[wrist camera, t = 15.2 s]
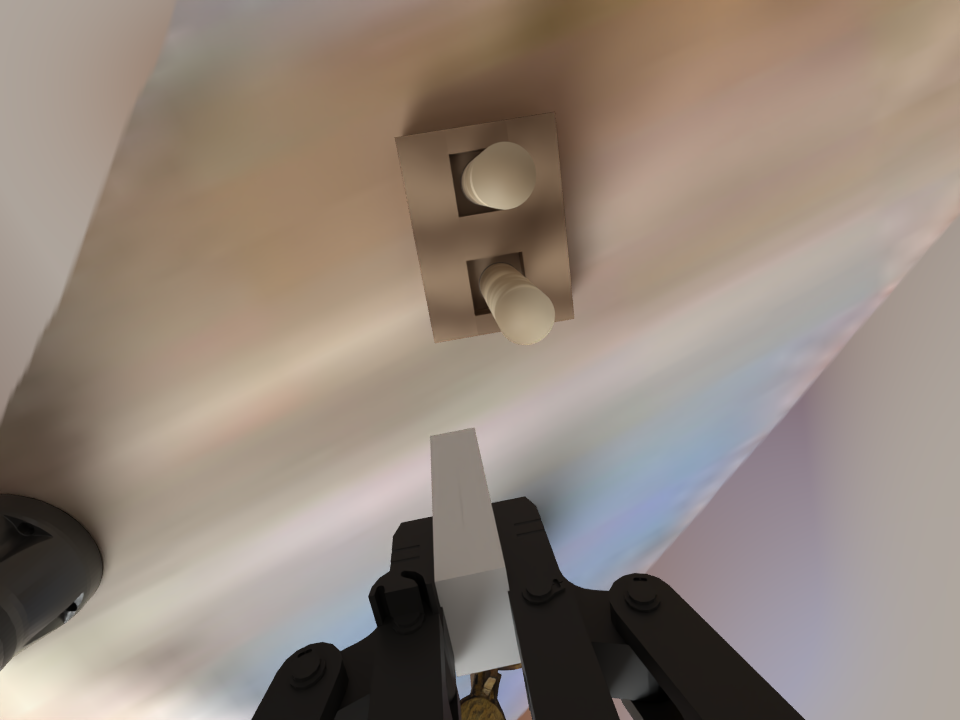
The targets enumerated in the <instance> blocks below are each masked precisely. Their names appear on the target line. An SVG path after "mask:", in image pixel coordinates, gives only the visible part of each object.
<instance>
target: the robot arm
mask: <svg viewBox="0 0 960 720" xmlns="http://www.w3.org/2000/svg"><path fill="white" fill-rule="evenodd" d="M430 444H431V478H432V512H433V516H432V517H427V518H423V519H418V520H413V521H408V522H403V523H401V524H400V526H399V528H398V529H397V531H396V533H395V534H394V536H393V543H392V554H391V565H390V571H389V572H388V573H386V574H385V575H383V576H382V577H380V578H379V579H378V580H377V581H376V583H375V584H374V585H373V586H372V588H371V591H370V593H369V596H368V597H369V601H370V604H371V607H372V611H373V614H374V617H375V621H376V624H377V628H376V629H375V630H374V631H373V632H372V633H371V634H370V635H369V636H367V637H366V638H364V639H363V640H361V641H359V642H358V643H356V644H354V645H352V646H350V647H348V648H346V649H344V650H342V651H340V650H339V649H337V648H336V647H335V646H334V645H333V644H329V643H324V642H320V643H314V644H310V645H308V646H306V647H303V648H301V649H299V650H297V651H296V652H295V653H294V654H293V655H291V656H290V657H289V658H288V659H287V660H286V661H285V662H284V663H283V665H282V666H281V667H280V669H279V670H278V671H277V673H276V675H275V677H274V679H273V681H272V683H271V684H270V686H269V688H268V690H267V692H266V694H265V695H264V697H263V699H262V701H261V703H260V705H259V706H258V708H257V710H256V712H255V714H254V716H253V718H252V719H251V720H462V718H461V705H460V698H459V694H458V690H457V686H456V674H457V677H459V676H463V675H468V674H472V673H477V672H481V671H486V670H490V669H495V668H500V667H504V666H509V665H513V664H518V663H521V665H522V670H523V676H524V681H525V687H526V693H527V698H528V704H529V710H530V711H531V716H532V720H620V719H619V716H618V713H617V711H616V708H615V705H614V703H613V700H612V698H619V699H621V700H622V703H623V705H624V706H625V708H626V709H627V711H628V712H629V713H630V715H631V717H632V718H633V719H634V720H805V719H804V718H803V717H802V716H801V715H800V714H799V713H798V712H797V711H796V710H795V709H794V708H793V707H792V706H791V705H790V704H789V703H788V702H787V701H786V700H785V699H784V698H783V697H782V696H781V695H780V694H779V693H778V692H777V691H776V690H775V689H774V688H772V687H771V685H770V684H769V683H768V682H767V681H765V679H764V678H762V677H761V676H760V675H759V674H758V673H757V672H756V671H755V670H754V669H753V668H752V667H751V666H750V665H749V664H748V663H747V662H746V661H745V660H744V659H743V658H742V657H741V656H740V655H739V654H738V653H737V652H736V651H735V650H734V649H733V648H732V647H731V646H730V645H729V644H728V643H727V642H726V641H725V640H724V639H723V638H722V637H721V636H720V635H719V634H718V633H717V632H716V631H715V630H714V629H713V628H712V627H711V626H710V625H709V624H708V623H707V622H706V621H705V620H704V619H703V618H702V617H701V616H700V615H699V614H698V613H697V612H696V611H694V609H693V608H692V607H691V606H689V604H688V603H687V602H685V601H684V600H683V599H682V598H681V597H680V596H679V595H678V594H677V593H676V592H675V591H674V590H673V589H672V588H671V587H670V586H669V585H668V584H667V583H665V582H664V581H662V580H661V579H659V578H657V577H654V576H651V575H648V574H639V573H633V574H629V575H625V576H622V577H621V578H619V579H618V580H616V581H615V582H614V583H613V585H612V587H611V588H610V590H609V591H601V590H590V589H584V588H581V587H578V586H576V585H574V584H572V583H571V582H569V581H568V580H567V579H566V578H565V577H564V576H563V575H562V573H561V571H560V570H559V567H558V564H557V562H556V559H555V556H554V553H553V551H552V548H551V545H550V543H549V540H548V537H547V534H546V532H545V529H544V526H543V523H542V521H541V518H540V515H539V512H538V510H537V507H536V505H534V504H533V503H532V502H531V501H530V500H529V499H527V498H526V497H520V498H515V499H510V500H505V501H500V502H495V503H491V500H490V496H489V491H488V487H487V482H486V478H485V473H484V468H483V464H482V459H481V455H480V450H479V446H478V441H477V437H476V432H475V428H470V429H465V430H459V431H454V432H449V433H444V434H439V435H434V436H430ZM101 577H102V560H101V556H100V553H99V550H98V548H97V546H96V544H95V542H94V540H93V539H92V537H91V536H90V535H89V533H88V532H87V531H86V530H85V529H84V528H83V527H82V526H81V525H80V524H79V523H78V522H77V521H76V520H75V519H73V518H72V517H71V516H69V515H68V514H66V513H65V512H63V511H61V510H59V509H58V508H56V507H54V506H51V505H49V504H47V503H44V502H42V501H39V500H35V499H32V498H28V497H23V496H17V495H3V494H1V495H0V671H1V670H2V669H3V667H4V666H5V665H6V664H7V663H8V662H9V661H10V660H11V659H12V658H13V657H14V656H16V655H17V654H19V653H20V652H22V651H23V650H25V649H26V648H28V647H29V646H31V645H32V644H34V643H36V642H37V641H39V640H40V639H42V638H43V637H45V636H46V635H48V634H49V633H51V632H52V631H54V630H55V629H57V628H58V627H60V626H62V625H63V624H65V623H66V622H67V621H69V620H70V619H71V618H72V617H74V616H75V615H76V614H77V613H78V612H79V611H80V610H81V609H82V607H83V606H84V605H85V604H86V603H87V602H88V600H89V599H90V598H91V597H92V596H93V594H94V593H95V591H96V590H97V588H98V586H99V584H100V581H101ZM455 670H456V674H455Z"/></svg>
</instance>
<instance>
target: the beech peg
mask: <svg viewBox="0 0 960 720" xmlns="http://www.w3.org/2000/svg"><path fill="white" fill-rule="evenodd" d="M479 290H480V292H481V294H482V296H483V298H484V299H485V301H486V303H487V305H488V307H489V309H490V311H491V313H492V314H493V316H494V318H495V320H496V322H497V324H498V326H499V328H500V330H501V332H502V333H503V335H504V336H505V337H506V338H507V339H508V340H510V341H511V342H513V343H516V344H520V345H530V344H534V343H537V342H539V341H541V340H542V339H544V338H545V337H546V336H547V335H548V334H549V332H550V331H551V329H552V327H553V324H554V320H555V310H554V306H553V304H552V302H551V300H550V299H549V298H548V297H547V296H546V295H545V294H544V293H543V292H542V291H541V290H539V289H538V288H537V287H536V286H535V285H534V284H532V283H531V282H530V281H529V280H528V279H527V278H525V277H524V276H523V275H522V274H521V273H520V272H518V270H517V269H516V268H515V267H514V266H512V265H511V264H509V263H506V262H496V263H493V264H490V265H489V266H487V267H486V268H485V269H484V270H483V272H482V273H481V275H480V278H479Z"/></svg>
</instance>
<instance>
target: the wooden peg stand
mask: <svg viewBox="0 0 960 720" xmlns="http://www.w3.org/2000/svg"><path fill="white" fill-rule="evenodd" d="M395 141H396V146H397V152H398V157H399V162H400V167H401V172H402V177H403V182H404V187H405V193H406V198H407V203H408V208H409V213H410V218H411V223H412V228H413V234H414V239H415V244H416V249H417V254H418V259H419V264H420V269H421V275H422V280H423V285H424V290H425V295H426V300H427V305H428V310H429V316H430V321H431V326H432V331H433V336H434V341H435V343H439V342H444V341H450V340H456V339H461V338H467V337H473V336H478V335H484V334H490V333H496V332H501V330H500V328H499V326H498V324H497V322H496V320H495V318H494V316H493V314H492V313H491V311H490V309H489V307H488V305H487V303H486V301H485V299H484V298H483V296H482V294H481V292H480V290H479V278H480V275H481V273H482V272H483V270H484V269H485V268H486V267H487V266H489V265H490V264H493V263H496V262H506V263H509V264H511V265H512V266H514V267H515V268H516V269H517V270H518V272H520V273H521V274H522V275H523V276H524V277H525V278H527V279H528V280H529V281H530V282H531V283H532V284H534V285H535V286H536V287H537V288H538V289H539V290H541V291H542V292H543V293H544V294H545V295H546V296H547V297H548V298H549V299H550V300H551V302H552V304H553V306H554V310H555V320H554V322H558V321H564V320H570V319H574V309H573V299H572V288H571V278H570V267H569V256H568V246H567V235H566V224H565V214H564V203H563V193H562V182H561V171H560V161H559V150H558V140H557V129H556V118H555V112H551V113H544V114H538V115H532V116H526V117H519V118H513V119H507V120H501V121H495V122H488V123H482V124H476V125H470V126H463V127H457V128H451V129H445V130H439V131H432V132H426V133H420V134H414V135H407V136H401V137H395Z"/></svg>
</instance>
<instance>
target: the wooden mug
mask: <svg viewBox="0 0 960 720" xmlns="http://www.w3.org/2000/svg"><path fill="white" fill-rule="evenodd" d="M519 668H522V665H521V663H518V664H513V665H509V666H504V667H500V668H495V669H490V670H486V671H481V672H477V673H472V674H470V678H471V693H470V695H468V696H466V697H464V698H462V699H461V700H460V705H461V718H462V720H506V719H505V716H504V713H503V711H502V709H501V706H500V704H499V702H498V700H497V696H498V688H499V683H500V679H501V674H499V673H498V670H515V669H519Z"/></svg>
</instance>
